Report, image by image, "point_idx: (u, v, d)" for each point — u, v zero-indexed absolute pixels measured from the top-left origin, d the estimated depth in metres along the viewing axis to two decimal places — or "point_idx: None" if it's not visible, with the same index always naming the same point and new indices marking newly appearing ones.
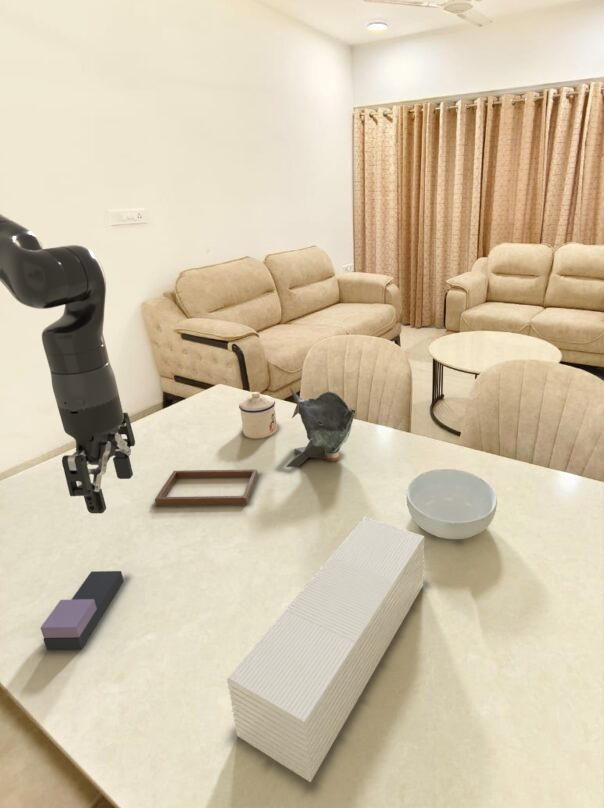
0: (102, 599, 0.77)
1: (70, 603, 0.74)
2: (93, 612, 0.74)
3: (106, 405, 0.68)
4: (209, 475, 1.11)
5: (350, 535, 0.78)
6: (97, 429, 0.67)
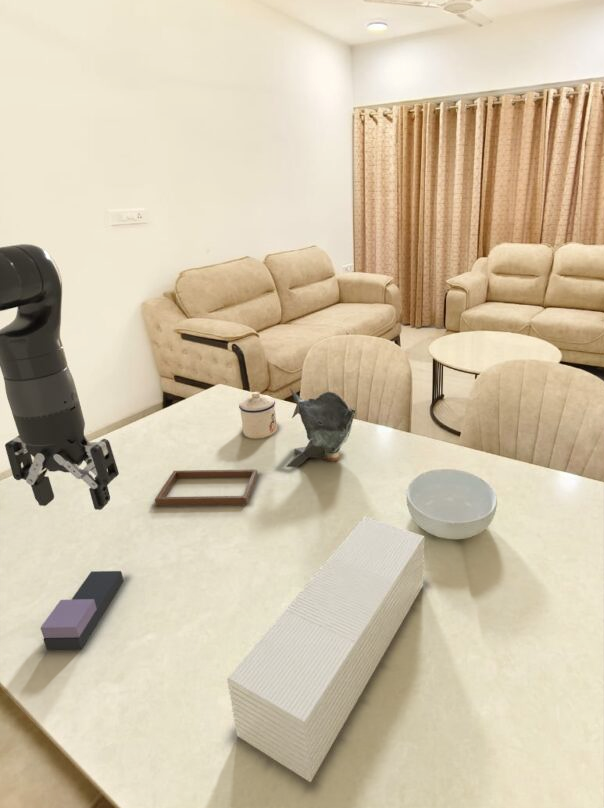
0: (102, 599, 0.77)
1: (70, 603, 0.74)
2: (93, 612, 0.74)
3: None
4: (209, 475, 1.11)
5: (350, 535, 0.78)
6: None
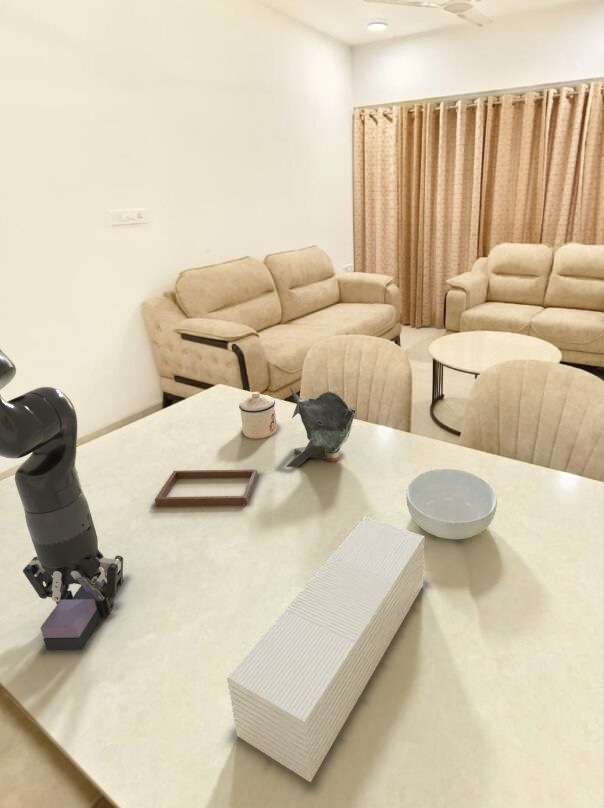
0: None
1: (70, 603, 0.74)
2: (93, 612, 0.74)
3: None
4: (209, 475, 1.11)
5: (350, 535, 0.78)
6: (96, 534, 0.74)
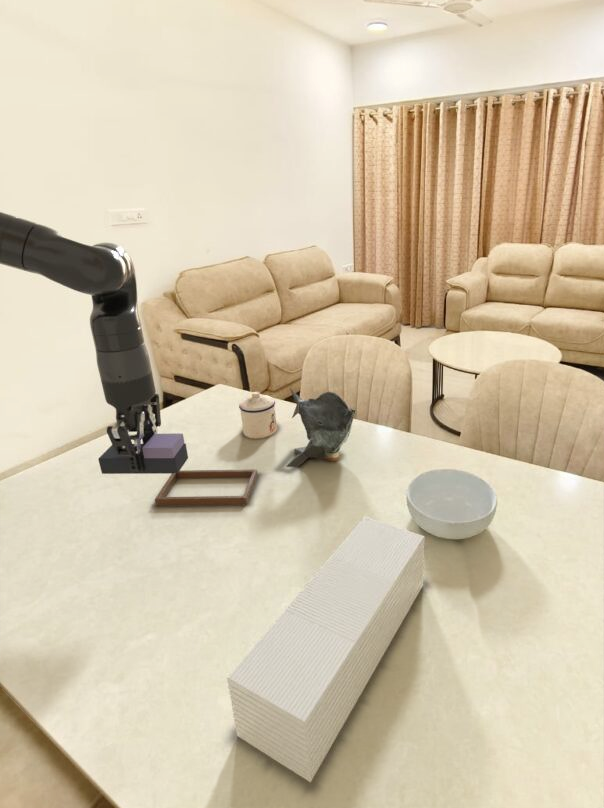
0: None
1: (151, 442, 0.84)
2: None
3: None
4: (209, 475, 1.11)
5: (350, 535, 0.78)
6: None
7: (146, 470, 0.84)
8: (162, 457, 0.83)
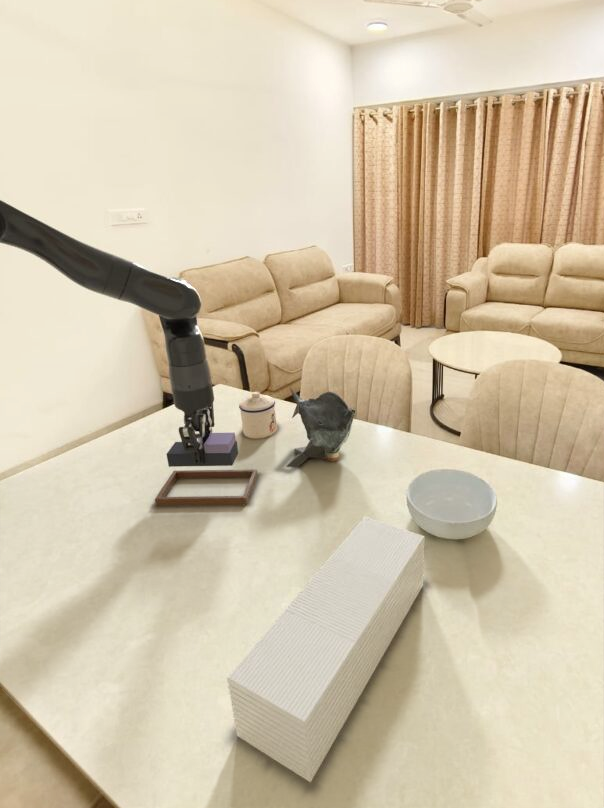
0: (203, 441, 1.05)
1: (210, 440, 1.02)
2: None
3: None
4: (209, 475, 1.11)
5: (350, 535, 0.78)
6: None
7: (206, 463, 1.02)
8: (220, 452, 1.01)
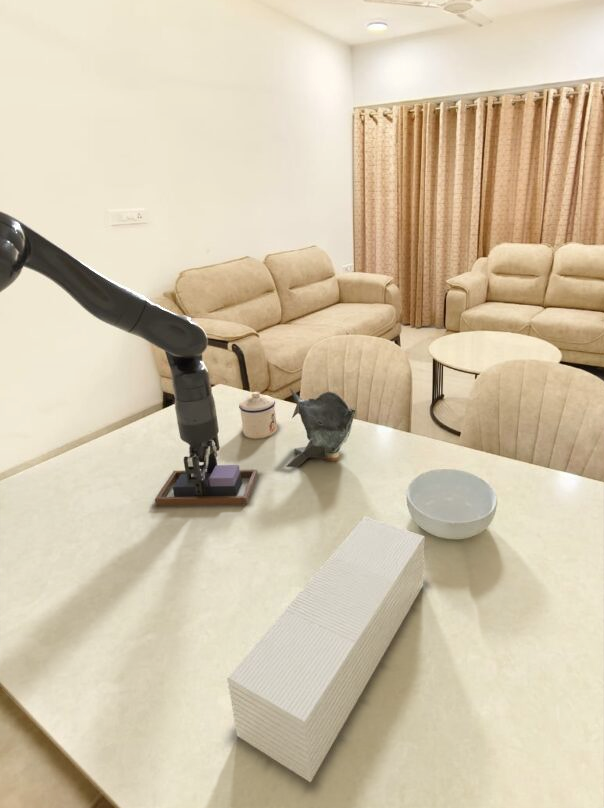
0: (208, 473, 1.08)
1: (215, 473, 1.05)
2: None
3: None
4: None
5: (350, 535, 0.78)
6: None
7: (211, 495, 1.04)
8: (225, 485, 1.04)
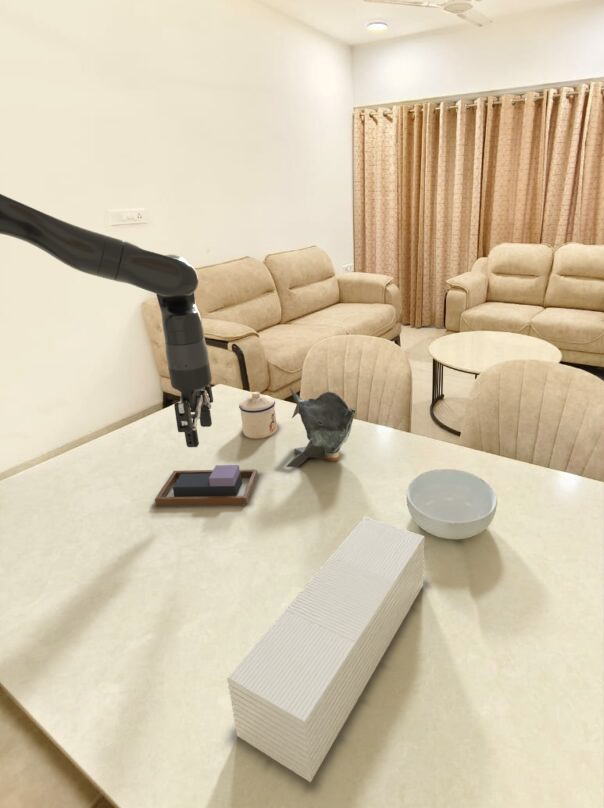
0: (208, 473, 1.08)
1: (215, 473, 1.05)
2: None
3: None
4: None
5: (350, 535, 0.78)
6: None
7: (211, 495, 1.04)
8: (225, 485, 1.04)
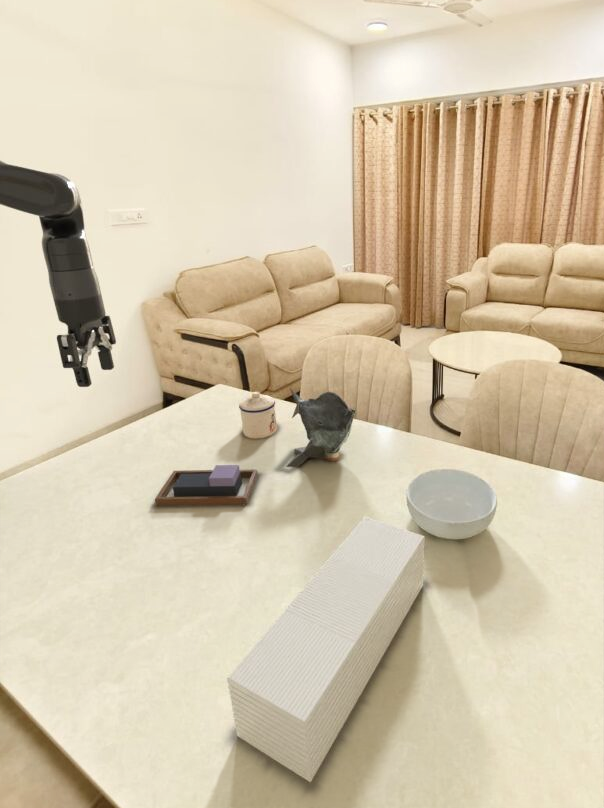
0: (208, 473, 1.08)
1: (215, 473, 1.05)
2: None
3: None
4: None
5: (350, 535, 0.78)
6: None
7: (211, 495, 1.04)
8: (225, 485, 1.04)
